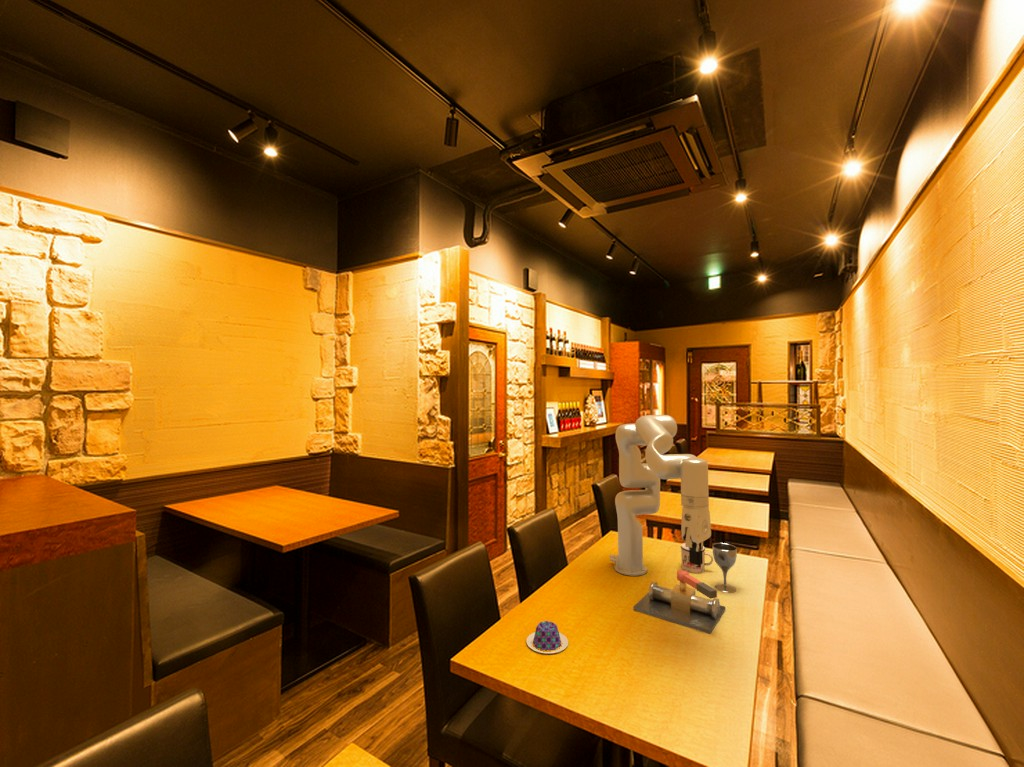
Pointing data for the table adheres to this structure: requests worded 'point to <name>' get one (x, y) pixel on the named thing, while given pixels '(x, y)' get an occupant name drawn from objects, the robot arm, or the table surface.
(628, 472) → the robot arm
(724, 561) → the wine glass
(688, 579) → the lever
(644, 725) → the table surface
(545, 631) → the pudding
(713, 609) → the valve
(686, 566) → the teacup with lid
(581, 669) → the table surface
